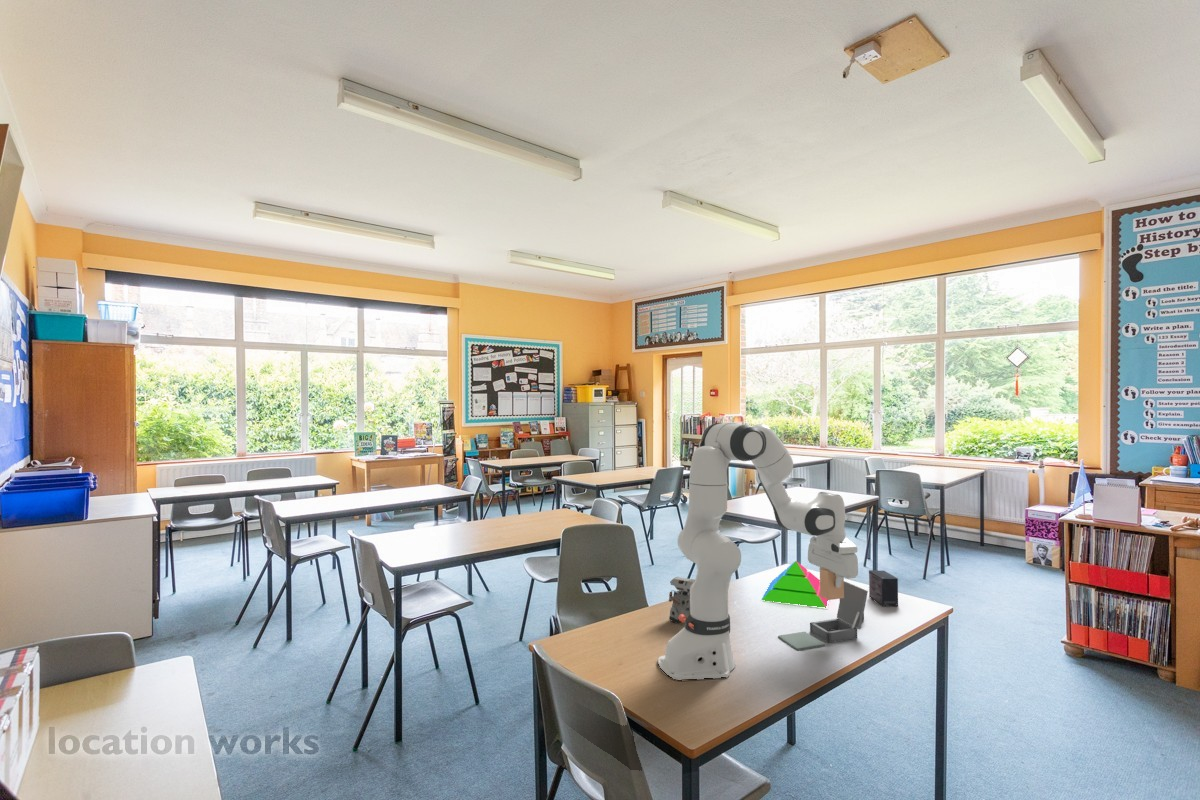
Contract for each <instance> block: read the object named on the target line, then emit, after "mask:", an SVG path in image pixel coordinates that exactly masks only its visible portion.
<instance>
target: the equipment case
mask: <svg viewBox="0 0 1200 800" xmlns="http://www.w3.org/2000/svg"><path fill="white" fill-rule="evenodd" d="M868 593H869V590H867V589H865V588H862V587H860V586H857V585H855V584H852V583H850V582H847V581H844V598H841V599H839V603H838V609H837V613H836V618H831V619H825V620H819V621H811V622H809V632H810V633H812V634H813V635H815V636H816V637H818V638H820V639H822V640H824V642H826V641H827V643H835V642H834V641H837V642H841V640H843V641H847V640H848V639H849V640H853V639H858V630H859V631H860V630H861V629H862V624H863V620H862V619H863V614H864V615H865V609H866V602H867V598H868ZM831 629H834V630H831ZM827 630H828V631H827Z"/></svg>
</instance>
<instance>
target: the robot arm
mask: <svg viewBox="0 0 1200 800" xmlns="http://www.w3.org/2000/svg"><path fill="white" fill-rule="evenodd" d="M731 461H742V462H748V461H749V462H750V461H751V462H752V464H753V466H754V467H755V469H756V471H757V472H758V480H759V482H760V485H761V486H762V488H763V490H764V492H765V494H766V496H767V498H768V500H769V503H770V505H771V507H772V509H773V514H774V519H775V521H776V523H777V525H778V526H779V527H780V528H781V529H783V530H787V531H792V532H793V531H795V532H796V533H800V534H805V535H809V536H812V537H810V539H809V544H808V546H807V547H808V549H807V560H808V561H807V562H808V563H809V564H811V565H813V566H816V567H818V568H819V569H820V568H824V569H826V570H829V571H831V572H833V573H835V576H836V577H837V578H836V581H834V586H835V587H837V588H839V587H841V582H842V580H843V578H845V579H848V580H850V579H857V576H858V575H859V562H858V561H859V560H858V555H857V554H856V553H858V546H857V545H856V544H854V543H853V542H852V541H851V540H850V539H848V537H846V535H847V534H846V530H845V523H846V508H845V502H844V498H843V496H841V495H840V494H838V493H831V492H828V491H827V492H826V491H820V492H818V493H817V496H816V497H815V498H814V499H813V500H812V501H810V502H808V503H806V502H801V501H797V500H795V499H792V498H791V497H790V496H789V495H788V493H787V491H786V489H785V486H784V484H783V483H782V482H784V481H785V480H786V479H787V478H788V477H789V476H790V475H791V473H792V471H793V469H794V461H793V457H792V456H791V454H790V452H789V450H788V448H786V446H785V444H784V443H783V442H782V440H781V439H780V437H779V436H778V435H777V434H776V433H775V432H774V430H773V429H772V428H771V427H770V426H768V425H767V424H763V423H758V424H754V425H750V424H741V423H736V422H715V423H713V424H711V425H708V426H707V427H706V428H705V429H704V432H703V433H702V435H701V441H700V444H699V447H698V448H696V449H695V450H694V451H693V452H692V458H691V462H690V468H689V469H690V470H689V479H688V480H689V481H688V482H689V485H688V487H689V490H688V491H689V494H688V511H687V516H686V521H685V522H684V523H685V524H684V527H683V529H682V530H680V532H679V534H678V535H677V536H678V537H677V547H678V549H679V551H680V552H681V553H682V554H683V556H684V557H685V558H686V559H687V560H688V561H690V562H692V563H694V564H695V565H696V570H697V571H696V576H695V579H694V580H695V582H694V583H693V584H692V585H691V587H690V613H689V615H688V617H686V616H684V615H683V614H680V615H679V620H680V623H682V624H684V626H683V628H681V629H680V630H679V632H677V633H676V634H675V635H674V636H672V638H670V639H669V640H668V641H667V642H666V643H667V644H666V646H665V652H664V653H665V654H664V655H661V656H659V657H658V659H657V665H658V664H659V666H660V667H659V666H658V667H659V669H660V668H661V669H662V670H663V671H664V672H665V673H666V674H667V675H669V676H670V677H672V678H674V679H678V680H681V679H697V680H705V679H704V678H713V679H722V678H721V677H726V678H728V676H729V677H730V673H731V672H732V671H733V669H734V668H735V667H736V662H735V658H734V654H733V650H732V645H731V643H732V642H731V638H730V637H731V635H730V634H731V617H730V616H731V615H730V613H729V589H730V584H731V583H730V582H731V579H732V576H733V574H734V573H736V571H737V570H738V569H739V567H740V565H741V563H742V553H741V549H740V547H738V545H737V544H736V543H735V542H734V541H733V540H732V539H730V537H728V536H726V535H723V534H721V533H720V532H719V527H720V522H721V520H722V518H723V516H724V515H725V514H726V512H727V509H728V468H729V464H730V462H731ZM661 669H660V670H661ZM662 670H661V671H662ZM663 671H662V672H663ZM664 672H663V673H664ZM665 673H664V674H665ZM666 674H665V675H666ZM667 675H666V676H667ZM670 677H669V678H670ZM672 678H671V679H672ZM674 679H673V680H674Z"/></svg>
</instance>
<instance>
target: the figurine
mask: <svg viewBox="0 0 1200 800" xmlns="http://www.w3.org/2000/svg"><path fill="white" fill-rule="evenodd" d="M694 582H695V579H692V578H687V577H682V576H681V577H680V576H676V577H674V578H672V579H671V580H670V586H674V588H675V589H676V590H671V591H669V595H668V597H669V598H668V602H671V603H672V604H671V607H670V611H669V617H668V620H670V621H671V620H672V621H673V623H675V622H676V623H677V624H679V623H681V621H680V620H679V615H680V614H683V615H684V616H686V618H687V617H688V615H689V613H690V587H691V585H692V584H693V583H694ZM676 623H675V624H676Z"/></svg>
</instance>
